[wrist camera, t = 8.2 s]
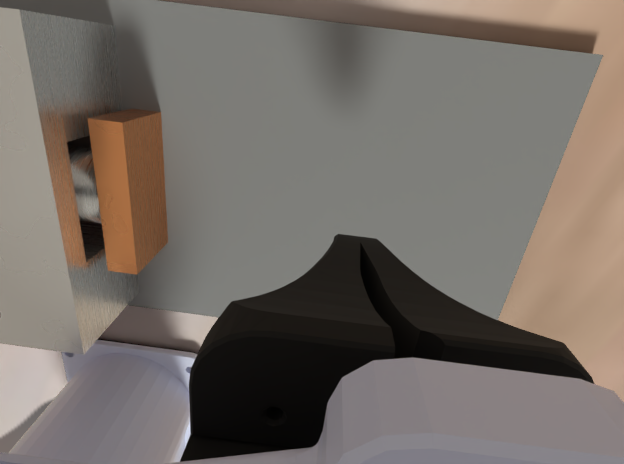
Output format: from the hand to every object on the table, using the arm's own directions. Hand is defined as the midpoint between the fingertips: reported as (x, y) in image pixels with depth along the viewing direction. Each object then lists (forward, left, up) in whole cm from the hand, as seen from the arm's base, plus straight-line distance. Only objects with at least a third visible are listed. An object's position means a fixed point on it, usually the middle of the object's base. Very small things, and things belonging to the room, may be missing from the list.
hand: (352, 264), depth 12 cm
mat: (0, +5, -6) cm, 7 cm away
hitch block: (0, +13, -5) cm, 14 cm away
